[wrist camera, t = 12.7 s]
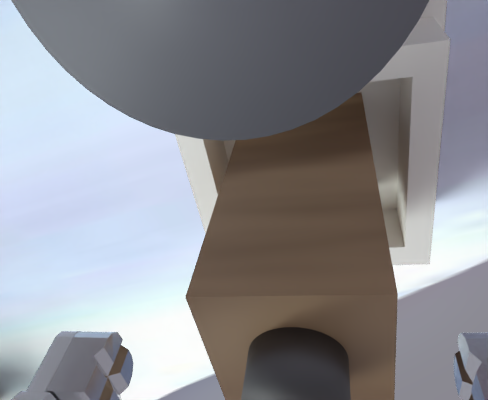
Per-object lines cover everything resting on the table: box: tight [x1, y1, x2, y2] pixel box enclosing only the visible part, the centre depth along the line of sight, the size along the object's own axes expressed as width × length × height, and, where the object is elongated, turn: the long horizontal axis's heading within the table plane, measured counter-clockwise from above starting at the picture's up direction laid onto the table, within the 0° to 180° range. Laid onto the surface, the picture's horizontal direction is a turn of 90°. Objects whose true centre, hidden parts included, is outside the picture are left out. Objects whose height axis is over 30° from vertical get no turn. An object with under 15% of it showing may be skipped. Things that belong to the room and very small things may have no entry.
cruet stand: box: [12, 0, 450, 265], centre depth 12 cm, size 18×10×12 cm, turn 11°
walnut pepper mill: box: [186, 92, 397, 400], centre depth 14 cm, size 4×4×11 cm
